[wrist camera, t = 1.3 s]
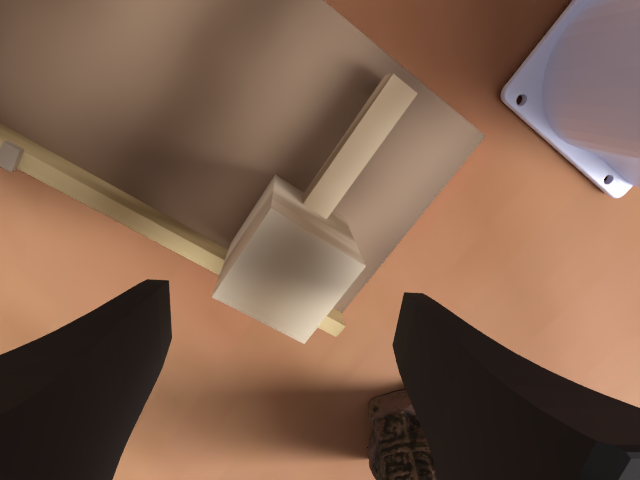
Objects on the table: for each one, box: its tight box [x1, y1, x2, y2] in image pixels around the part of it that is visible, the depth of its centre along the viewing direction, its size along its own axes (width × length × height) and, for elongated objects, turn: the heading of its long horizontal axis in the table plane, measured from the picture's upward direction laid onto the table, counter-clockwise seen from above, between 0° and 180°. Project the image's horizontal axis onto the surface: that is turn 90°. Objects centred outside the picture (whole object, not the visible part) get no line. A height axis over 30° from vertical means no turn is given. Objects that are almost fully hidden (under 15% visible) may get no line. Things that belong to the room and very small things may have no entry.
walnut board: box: [0, 0, 485, 337], centre depth 16 cm, size 22×12×4 cm, turn 55°
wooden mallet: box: [212, 74, 418, 344], centre depth 15 cm, size 4×10×5 cm, turn 145°
